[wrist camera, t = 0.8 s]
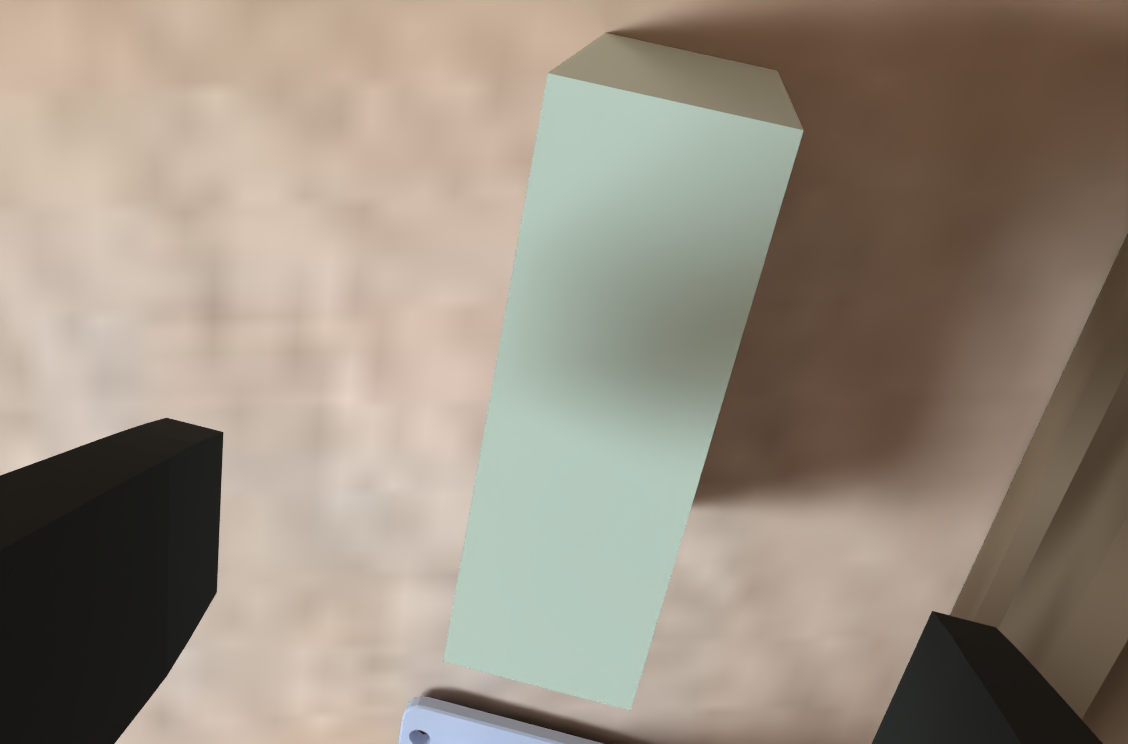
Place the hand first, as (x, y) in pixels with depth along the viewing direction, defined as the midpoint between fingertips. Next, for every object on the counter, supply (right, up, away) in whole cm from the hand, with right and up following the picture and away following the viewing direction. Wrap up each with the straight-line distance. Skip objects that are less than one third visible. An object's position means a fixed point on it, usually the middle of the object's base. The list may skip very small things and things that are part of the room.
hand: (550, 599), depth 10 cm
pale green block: (+1, +4, +9) cm, 10 cm away
